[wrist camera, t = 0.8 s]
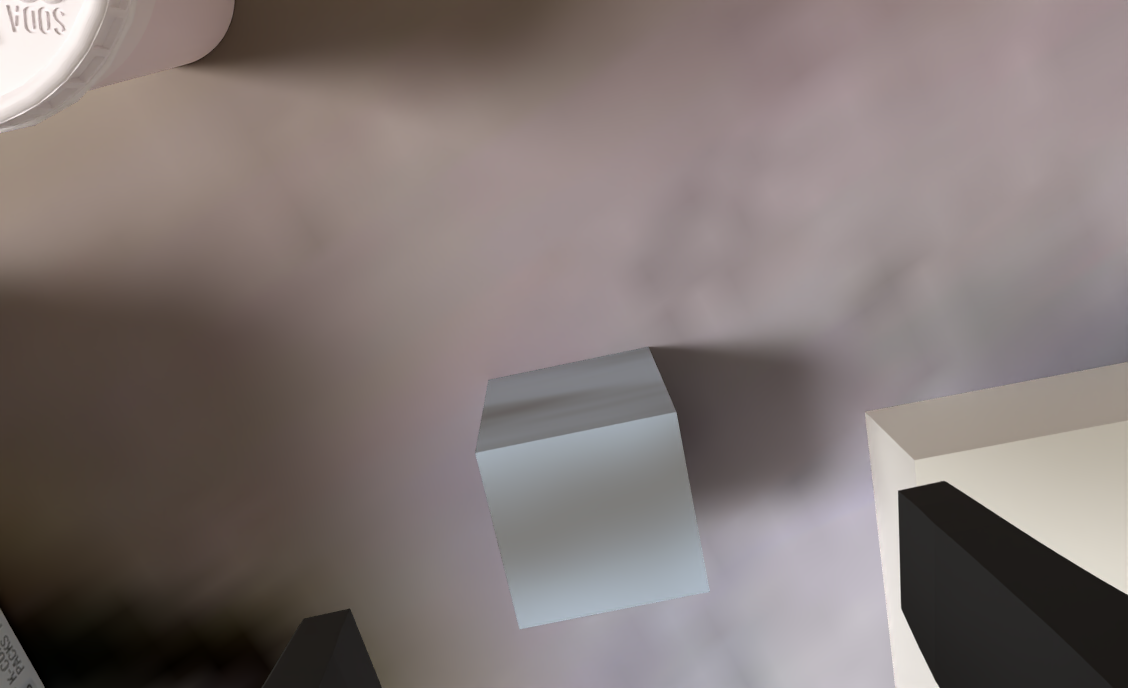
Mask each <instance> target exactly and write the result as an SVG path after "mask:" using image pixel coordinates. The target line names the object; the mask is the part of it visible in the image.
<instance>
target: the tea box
mask: <svg viewBox="0 0 1128 688" xmlns="http://www.w3.org/2000/svg"><path fill="white" fill-rule="evenodd" d="M0 688H45V687H44V685H43V683H42V682H41V680H40V678H39V676H38V675H37V673H36V671H35V669H34V667H33V666H32V664H31V662H30V660H29V659H28V657H27V655H26V653H25V651H24V650H23V648H22V646H21V644H20V643H19V641H18V639H17V637H16V636H15V634H14V632H13V630H12V629H11V627H10V625H9V623H8V621H7V620H6V618H5V616H4V614H3V612H2V611H1V609H0Z"/></svg>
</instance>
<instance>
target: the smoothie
mask: <svg viewBox="0 0 1128 688" xmlns="http://www.w3.org/2000/svg"><path fill="white" fill-rule="evenodd" d="M234 3H235V0H0V133H3V132H8V131H12V130H17V129H21V128H26V127H30V126H35V125H37V124H38V123H40V122H42V121H44V120H45V119H47V118H49V117H51V116H53V115H54V114H56V113H58V112H60V111H62V110H63V109H65V108H67V107H69V106H71V105H72V104H74V103H76V102H77V101H78V100H79V99H80V98H81V97H82V96H83V95H84V94H85V93H86V92H87V91H89V90H92V89H96V88H100V87H104V86H107V85H111V84H115V83H119V82H122V81H126V80H130V79H133V78H137V77H141V76H145V75H148V74H152V73H156V72H160V71H163V70H167V69H171V68H175V67H178V66H182V65H186V64H189V63H192V62H194V61H197V60H199V59H201V58H202V57H204V56H205V55H207V54H208V53H210V52H211V51H212V50H213V49H214V48H215V47H216V46H217V45H218V44H219V43H220V41H221V40H222V38H223V37H224V35H225V34H226V32H227V30H228V27H229V25H230V23H231V19H232V16H233V11H234Z"/></svg>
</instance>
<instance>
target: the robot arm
mask: <svg viewBox="0 0 1128 688" xmlns="http://www.w3.org/2000/svg"><path fill="white" fill-rule="evenodd" d="M898 513H899V552H900V591H901V610H902V612H903V614H904V616H905V618H906V621H907V623H908V625H909V627H910V629H911V631H912V634H913V636H914V638H915V640H916V642H917V644H918V647H919V649H920V651H921V653H922V655H923V657H924V659H925V661H926V663H927V665H928V667H929V669H930V671H931V673H932V675H933V677H934V679H935V681H936V683H937V684H938V686H939V688H1128V595H1127V594H1125V593H1124V592H1122V591H1120V590H1118V589H1117V588H1115V587H1113V586H1112V585H1110V584H1108V583H1106V582H1105V581H1103V580H1101V579H1099V578H1098V577H1096V576H1094V575H1093V574H1091V573H1089V572H1088V571H1086V570H1084V569H1083V568H1081V567H1079V566H1078V565H1076V564H1074V563H1073V562H1071V561H1070V560H1068V559H1066V558H1065V557H1063V556H1061V555H1060V554H1058V553H1056V552H1055V551H1053V550H1052V549H1050V548H1048V547H1047V546H1045V545H1044V544H1042V543H1040V542H1039V541H1037V540H1036V539H1034V538H1033V537H1031V536H1029V535H1028V534H1026V533H1025V532H1023V531H1022V530H1020V529H1019V528H1017V527H1015V526H1014V525H1012V524H1011V523H1009V522H1008V521H1006V520H1005V519H1003V518H1002V517H1000V516H998V515H997V514H995V513H994V512H992V511H991V510H989V509H988V508H986V507H985V506H983V505H982V504H980V503H979V502H977V501H976V500H974V499H972V498H971V497H969V496H968V495H966V494H965V493H963V492H962V491H960V490H959V489H957V488H955V487H954V486H952V485H951V484H949V483H948V482H946V481H940V482H936V483H931V484H927V485H922V486H917V487H913V488H908V489H903V490H899V491H898ZM262 688H382V687H381V685H380V682H379V680H378V677H377V675H376V672H375V670H374V667H373V665H372V662H371V660H370V657H369V655H368V652H367V650H366V647H365V645H364V642H363V640H362V637H361V635H360V632H359V630H358V627H357V625H356V622H355V620H354V617H353V615H352V613H351V610H350V609H347V610H342V611H337V612H333V613H328V614H323V615H319V616H314V617H309V618H305V619H303V621H302V622H301V624H300V625H299V627H298V628H297V630H296V631H295V633H294V635H293V636H292V638H291V639H290V641H289V643H288V644H287V646H286V648H285V649H284V651H283V653H282V654H281V656H280V658H279V659H278V661H277V663H276V664H275V666H274V668H273V669H272V671H271V673H270V674H269V676H268V678H267V679H266V681H265V683H264V684H263V686H262Z"/></svg>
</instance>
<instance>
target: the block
mask: <svg viewBox="0 0 1128 688" xmlns="http://www.w3.org/2000/svg"><path fill="white" fill-rule="evenodd" d="M475 454H476V458H477V462H478V466H479V470H480V474H481V478H482V482H483V486H484V490H485V494H486V498H487V502H488V506H489V510H490V514H491V518H492V522H493V526H494V530H495V534H496V538H497V542H498V546H499V550H500V554H501V558H502V562H503V566H504V570H505V574H506V578H507V582H508V586H509V590H510V593H511V597H512V601H513V605H514V609H515V613H516V617H517V621H518V625H519V629H524V628H529V627H534V626H539V625H544V624H549V623H554V622H559V621H564V620H569V619H574V618H579V617H584V616H590V615H595V614H600V613H605V612H610V611H615V610H620V609H625V608H630V607H635V606H640V605H645V604H650V603H655V602H660V601H665V600H670V599H675V598H680V597H685V596H691V595H696V594H701V593H706V592H710V591H709V585H708V580H707V574H706V569H705V564H704V558H703V553H702V547H701V542H700V537H699V531H698V526H697V520H696V515H695V510H694V504H693V499H692V493H691V488H690V483H689V477H688V472H687V466H686V461H685V456H684V450H683V445H682V440H681V434H680V429H679V423H678V418H677V413H676V410H675V408H674V405H673V403H672V401H671V398H670V396H669V394H668V391H667V389H666V387H665V384H664V382H663V380H662V377H661V375H660V373H659V370H658V368H657V366H656V363H655V361H654V359H653V356H652V354H651V352H650V349H649V347H646V348H641V349H636V350H631V351H626V352H622V353H617V354H612V355H607V356H602V357H597V358H593V359H588V360H583V361H578V362H573V363H568V364H564V365H559V366H554V367H549V368H544V369H539V370H535V371H530V372H525V373H520V374H515V375H510V376H506V377H501V378H496V379H491V380H488V386H487V391H486V397H485V402H484V407H483V413H482V418H481V424H480V429H479V435H478V440H477V446H476V451H475Z"/></svg>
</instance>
